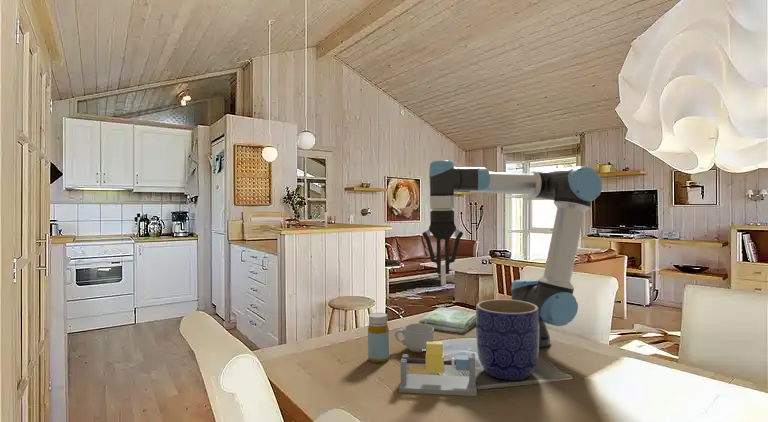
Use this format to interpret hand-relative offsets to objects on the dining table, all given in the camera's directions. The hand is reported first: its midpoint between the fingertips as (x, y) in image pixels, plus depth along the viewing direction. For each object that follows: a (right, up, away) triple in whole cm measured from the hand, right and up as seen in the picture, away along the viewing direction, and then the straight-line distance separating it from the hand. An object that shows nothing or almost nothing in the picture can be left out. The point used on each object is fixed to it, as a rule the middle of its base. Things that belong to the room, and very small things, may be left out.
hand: (443, 284), depth 138 cm
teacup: (-8, -26, +17) cm, 33 cm away
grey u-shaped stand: (-3, -27, -14) cm, 30 cm away
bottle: (-21, -27, +8) cm, 35 cm away
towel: (+9, -26, +48) cm, 55 cm away
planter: (+19, -26, -5) cm, 33 cm away
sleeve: (-4, -22, -14) cm, 26 cm away
